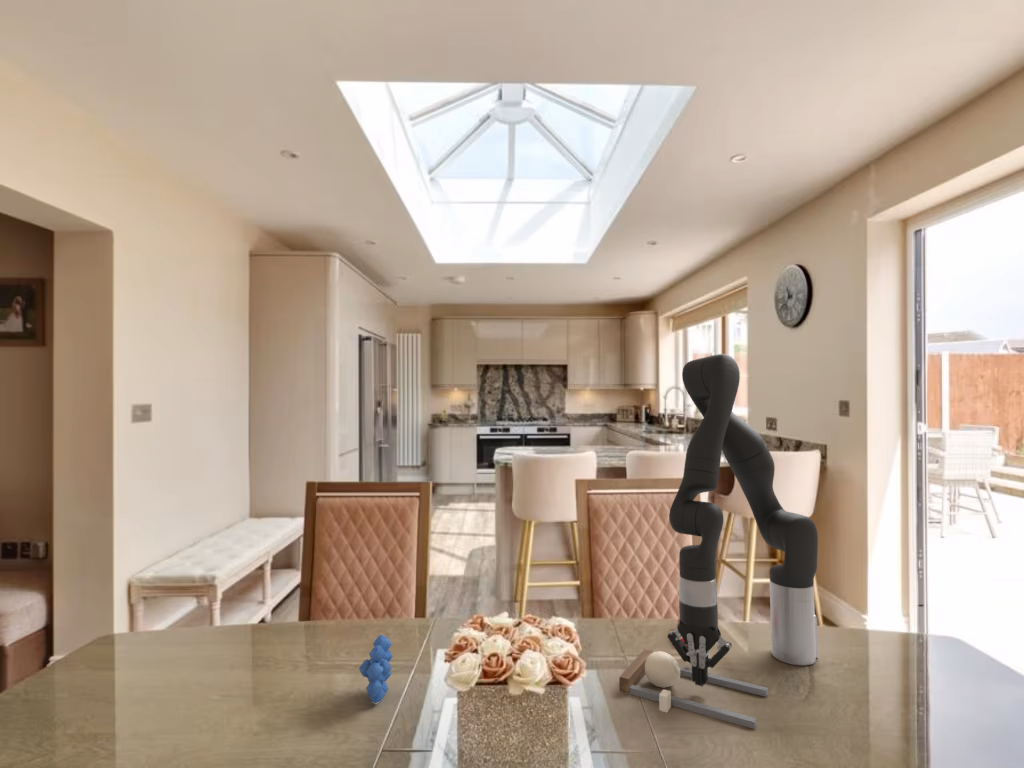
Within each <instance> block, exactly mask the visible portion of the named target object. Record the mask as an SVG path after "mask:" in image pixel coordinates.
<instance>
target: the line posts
mask: <svg viewBox="0 0 1024 768" xmlns="http://www.w3.org/2000/svg"><path fill="white" fill-rule="evenodd" d="M684 663H685V668H689V669H692V665H691V664H690V663H689V662H687V661H686V662H685V661H684ZM671 695H672V691H671V690H668V689H665V688H664V689H662V690H661V693H660V694H659V702H658V703H659V705H658V707H659V708H658V709H659V711H660V712H664V713H666V714H667V713H668V712H669V711H670V709H671V708H672V705H671Z"/></svg>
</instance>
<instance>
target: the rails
mask: <svg viewBox="0 0 1024 768" xmlns="http://www.w3.org/2000/svg"><path fill="white" fill-rule="evenodd" d="M679 667H680V677H681V676H682V677H685V678H688V679H692V669H689V668H686V667H683V666H680V665H679ZM706 683H709V684H714V685H718V686H721V687H724V688H725V687H726V688H729V689H733V690H737V691H742V692H744V693H749V694H752V695H753V694H754V695H757V696H760V697H766V698H767V697H768V694H769V691H768V690H769V689H768V687H765V686H761V685H758V684H754V683H750V682H746V681H741V680H737V679H733V678H729V677H725V676H720V675H717V674H712V673H709V672H708V680H707V682H706ZM661 692H662V691H661ZM661 692H660V691H658V690H653V689H650V688H648V687H647V688H646V687H643V686H640V685H631V686H630V687H629V694H628V695H633V696H637V697H641V698H644V699H648V700H651V701H655V702H658V703H659V694H660V693H661ZM672 706H673V707H675V708H679V709H683V710H685V711H690V712H693V713H696V714H700V715H704V716H708V717H711V718H714V719H718V720H722V721H725V722H728V723H732V724H736V725H739V726H742V727H746V728H749V729H753V730H756V727H757V718H756V717H752V716H749V715H745V714H742V713H737V712H735V711H734V712H733V711H730V710H726V709H723V708H719V707H716V706H712V705H709V704H704V703H702V702H698V701H693V700H690V699H687V698H683V697H678V696H676V695H672V694H671V707H672Z"/></svg>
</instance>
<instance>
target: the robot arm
mask: <svg viewBox="0 0 1024 768" xmlns="http://www.w3.org/2000/svg"><path fill="white" fill-rule="evenodd" d="M681 373H682V376H681V377H682V382H683V384H684V385H683V386H684V389H685V390H686V392H687V394H688V396H689V397H690V399H691V400H692V402H693V403H694V406H696V409H697V410H698V411H699V413H700V414H701V415H702V417H703V418H702V420H701V422H700V424H699V425H698V427H697V428H696V430H695V432H694V434H692V435H693V436H692V437H691V439H690V441H689V444H688V446H687V449H686V453H685V460H684V467H683V476H682V480H681V482H680V485H679V488H678V491H677V492H676V495H675V497H674V499H673V501H672V504H671V506H670V508H669V513H668V519H669V524H670V527H671V528H672V530H673V531H675V533H678V534H682V535H687V536H696V537H701V542H700V544H691V545H685V546H682V547H681V548H680V550H679V557H678V561H679V581H678V582H679V583H678V592H677V595H678V609H679V610H678V611H679V613H678V614H679V617H678V618H679V619H680V622H679V624H678V627H677V626H676V628H675V629H672V630H671V631H670V632H669V633H668V634H667V638H668V640H669V642H670V643H671V645H672V646H673V647H674V649H675V650H676V652H677V654H678V655H679V656H680V658H681V660H682V661H683V662H684V663H685V662H686V661H687V662H689V663H690V664H691V665H692V678H691V679H692V681H693V682H694V684H695V685H696V686H698V687H699V686H700V687H704V686H705V685H706V684H707V683H708V682H707V680H708V673H709V668H710V669H713V668H714V667H716V665H717V664H718V663H719V662H720V661H721V660H722V659H723V658H724V656H726V655H727V654H728V653H729V651H730V650H731V648H732V645H733V644H732V643H731V642H730V641H726V640H725V639H724V638H723V637H722V634H721V631H720V629H719V614H718V612H719V611H718V609H719V608H718V587H717V579H716V578H717V577H716V556H717V555H716V554H717V550H718V544H719V540H720V536H721V533H722V530H723V526H724V514H723V511H722V509H721V508H720V506H719V505H717V504H716V503H714V502H709V501H698V500H695V499H696V497H697V496H698V495H699V494H702V493H708V492H713V491H715V490H717V488H718V485H719V475H720V469H721V459H722V454H723V455H724V456H723V457H725V460H726V461H727V464H728V465H729V467H730V470H731V472H732V474H733V475H734V477H735V478H736V480H737V482H738V484H739V486H740V488H741V490H742V493H743V494H744V496H745V498H746V501H747V503H748V505H749V507H750V510H751V512H752V515H753V517H754V520H755V522H756V523H755V524H756V525H757V528H758V530H759V533H760V535H761V537H762V538H763V539H762V540H764V542H765V543H766V544H767V545H768V546H770V547H771V548H773V549H775V550H778V551H781V552H784V559H783V560H784V561H783V563H781V564H780V563H779V564H775V565H773V566H771V567H770V568H769V598H770V600H769V601H770V604H769V605H770V608H769V609H770V643H771V644H770V645H771V646H770V648H771V651H770V652H771V655H772V657H774V658H775V659H777V660H778V661H780V662H783V663H786V664H789V665H794V666H810V665H813V664H815V663H816V661H817V659H816V658H818V657H819V651H818V650H819V649H818V648H819V647H818V644H819V643H818V618H817V615H816V614H815V613H816V612H815V585H814V583H815V581H814V579H815V576H816V573H817V567H818V550H819V549H818V547H819V545H818V543H819V542H818V541H819V540H818V531H817V530H818V529H817V526H816V524H815V522H814V520H813V519H811V518H810V517H808V516H807V515H803V514H799V513H795V512H791V511H787V510H786V509H784V508H783V506H782V505H781V503H780V502H779V499H778V498H777V496H776V493H775V491H774V479H775V470H776V469H775V462H774V459H773V456H772V454H771V452H770V450H769V448H768V446H767V444H766V442H765V441H764V438H763V436H761V434H760V433H759V432H758V431H757V430H756V429H754V427H753V426H751V425H749V423H747V422H746V421H745V420H743V419H742V418H740V417H739V416H738V415H737V414H736V413H734V412H733V408H734V404H735V401H736V398H737V394H738V391H739V386H740V381H741V380H740V379H741V375H740V368H739V364H738V363H737V361H736V360H735V359H734V358H733V356H731V355H730V354H727V353H719V354H715V355H713V354H712V355H709V356H705V357H701V358H700V357H699V358H696V359H692V360H690V361H688V362H687V363H685V364H684V366H683V368H682V372H681ZM679 619H678V620H679ZM681 636H682V637H681ZM681 638H683V639H684V641H685V643H686V644H687V645H688V648H687V647H686V645H685V644H684V642H683V641H682V639H681ZM716 643H717V646H716V648H717V651H716V653H714V655H713V656H712V657H709V656H710V655H709V654H710V650H711V649H712V648H713V647H714V646H715V645H716Z"/></svg>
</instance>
